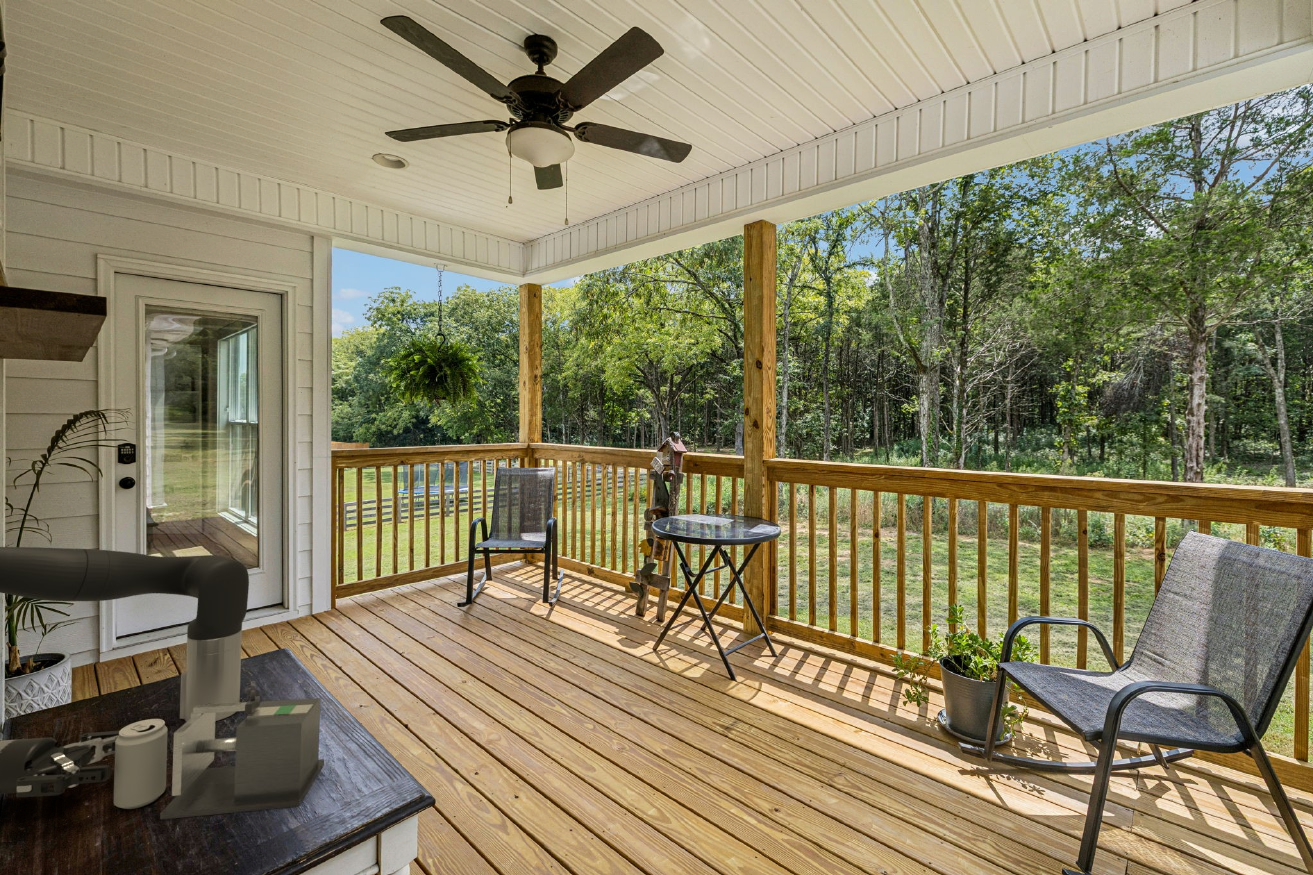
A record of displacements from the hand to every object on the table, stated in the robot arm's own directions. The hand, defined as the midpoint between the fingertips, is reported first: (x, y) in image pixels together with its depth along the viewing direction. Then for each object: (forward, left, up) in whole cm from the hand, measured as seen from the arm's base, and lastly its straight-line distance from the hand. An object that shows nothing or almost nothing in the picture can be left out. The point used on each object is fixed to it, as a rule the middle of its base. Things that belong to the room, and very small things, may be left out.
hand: (128, 757), depth 94 cm
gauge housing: (+17, +4, -7) cm, 19 cm away
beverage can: (+2, 0, -7) cm, 7 cm away
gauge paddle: (+13, +3, -4) cm, 14 cm away
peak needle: (+17, +5, +7) cm, 19 cm away
